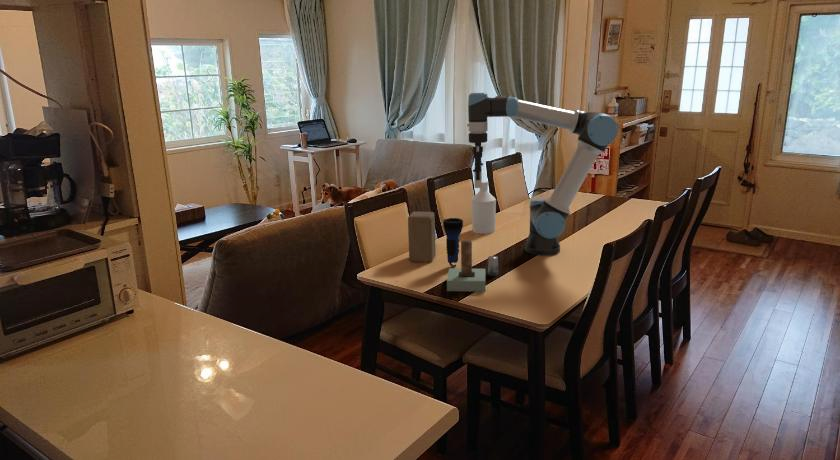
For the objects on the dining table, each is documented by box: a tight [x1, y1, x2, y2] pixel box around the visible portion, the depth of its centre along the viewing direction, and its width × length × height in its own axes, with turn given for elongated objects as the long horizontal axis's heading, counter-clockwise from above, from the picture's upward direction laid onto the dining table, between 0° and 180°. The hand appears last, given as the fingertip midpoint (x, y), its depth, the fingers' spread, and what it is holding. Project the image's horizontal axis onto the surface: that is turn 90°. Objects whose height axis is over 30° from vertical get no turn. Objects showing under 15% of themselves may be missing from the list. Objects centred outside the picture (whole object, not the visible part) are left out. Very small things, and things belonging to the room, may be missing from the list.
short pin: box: [487, 255, 499, 277], centre depth 233 cm, size 4×4×7 cm
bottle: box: [471, 180, 497, 235], centre depth 294 cm, size 12×12×25 cm
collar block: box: [446, 267, 486, 293], centre depth 223 cm, size 14×14×4 cm
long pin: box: [460, 239, 473, 277], centre depth 222 cm, size 4×4×17 cm
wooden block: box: [407, 211, 437, 263], centre depth 253 cm, size 10×10×20 cm
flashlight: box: [442, 217, 464, 268], centre depth 241 cm, size 8×8×20 cm
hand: (478, 184), depth 243 cm, fingers open, 13 cm apart
